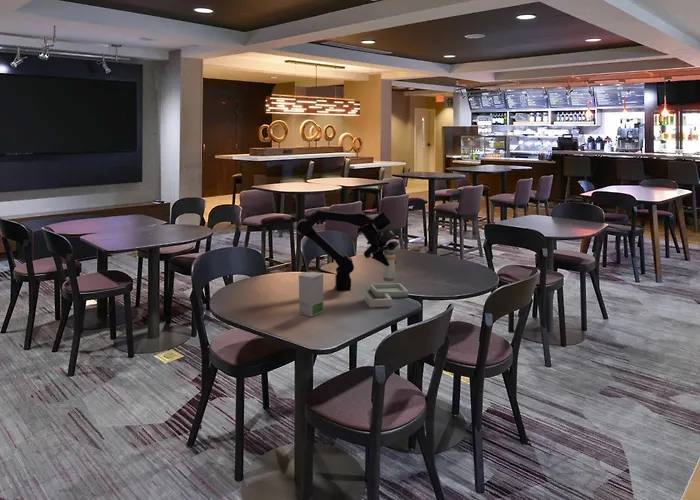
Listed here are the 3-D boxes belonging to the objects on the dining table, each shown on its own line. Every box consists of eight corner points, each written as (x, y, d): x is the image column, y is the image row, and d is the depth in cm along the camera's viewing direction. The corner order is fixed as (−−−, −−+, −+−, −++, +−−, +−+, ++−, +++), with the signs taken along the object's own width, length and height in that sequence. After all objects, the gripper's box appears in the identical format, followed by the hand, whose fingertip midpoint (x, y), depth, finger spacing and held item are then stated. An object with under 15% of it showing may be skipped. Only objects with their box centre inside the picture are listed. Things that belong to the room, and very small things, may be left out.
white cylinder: (388, 282, 251) (389, 252, 249) (381, 279, 255) (381, 250, 252) (396, 280, 255) (397, 251, 252) (388, 278, 258) (389, 249, 255)
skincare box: (311, 317, 221) (311, 277, 218) (297, 314, 225) (297, 275, 222) (324, 311, 228) (324, 273, 225) (310, 308, 232) (310, 271, 229)
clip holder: (369, 307, 235) (369, 300, 234) (365, 301, 243) (365, 294, 243) (392, 306, 237) (392, 299, 236) (387, 300, 245) (387, 293, 244)
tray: (376, 298, 248) (376, 292, 247) (369, 289, 261) (369, 284, 261) (408, 296, 250) (408, 291, 250) (399, 288, 264) (400, 283, 263)
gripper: (369, 227, 245) (390, 257, 241) (395, 223, 260) (415, 250, 255) (355, 243, 252) (374, 272, 247) (381, 238, 266) (399, 265, 261)
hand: (391, 264), depth 252 cm, fingers closed on white cylinder, 5 cm apart
